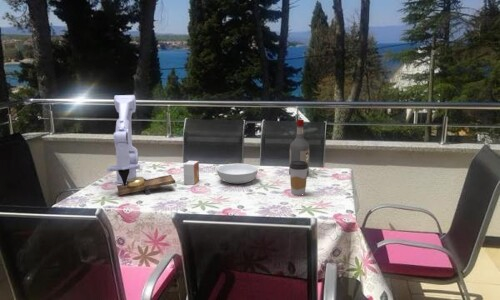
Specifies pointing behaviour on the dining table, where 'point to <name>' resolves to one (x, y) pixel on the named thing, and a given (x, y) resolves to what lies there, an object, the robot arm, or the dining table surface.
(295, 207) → the dining table surface
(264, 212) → the dining table surface
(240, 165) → the serving bowl
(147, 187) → the beam stand
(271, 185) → the dining table surface
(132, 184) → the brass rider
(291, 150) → the liquor
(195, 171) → the small box
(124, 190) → the beam
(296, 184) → the coffee cup
